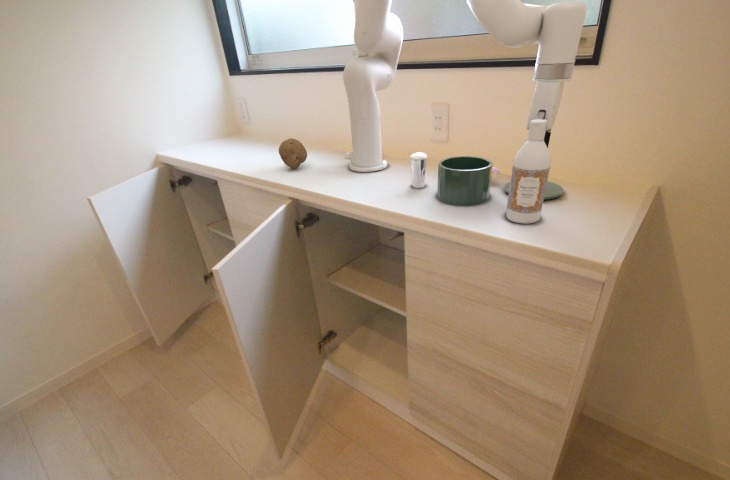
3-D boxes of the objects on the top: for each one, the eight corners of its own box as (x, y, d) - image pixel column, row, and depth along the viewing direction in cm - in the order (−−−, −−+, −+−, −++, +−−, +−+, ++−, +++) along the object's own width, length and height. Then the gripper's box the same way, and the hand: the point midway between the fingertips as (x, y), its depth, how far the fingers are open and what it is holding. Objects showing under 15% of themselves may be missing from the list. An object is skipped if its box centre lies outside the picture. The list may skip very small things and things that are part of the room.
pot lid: (498, 197, 90) (501, 171, 86) (510, 181, 100) (514, 156, 96) (558, 205, 83) (564, 176, 80) (565, 186, 93) (571, 160, 90)
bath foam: (504, 222, 77) (518, 124, 67) (506, 210, 83) (519, 117, 72) (539, 226, 75) (560, 124, 65) (539, 213, 80) (558, 117, 70)
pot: (429, 201, 91) (430, 167, 86) (447, 185, 100) (449, 154, 95) (480, 208, 85) (483, 172, 80) (494, 191, 94) (498, 158, 89)
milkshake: (406, 184, 103) (406, 148, 98) (425, 183, 103) (426, 147, 97) (407, 189, 99) (407, 152, 94) (427, 188, 99) (428, 151, 94)
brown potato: (302, 163, 129) (298, 134, 124) (313, 168, 123) (309, 138, 117) (278, 168, 125) (272, 139, 120) (288, 174, 119) (283, 143, 113)
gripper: (541, 69, 86) (527, 143, 95) (526, 76, 73) (512, 161, 82) (576, 69, 82) (559, 146, 91) (567, 76, 70) (548, 165, 79)
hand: (536, 153), depth 87 cm, fingers open, 9 cm apart
